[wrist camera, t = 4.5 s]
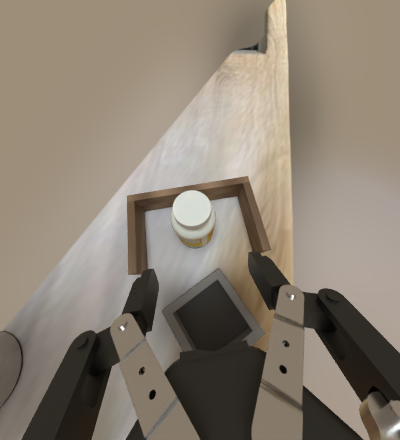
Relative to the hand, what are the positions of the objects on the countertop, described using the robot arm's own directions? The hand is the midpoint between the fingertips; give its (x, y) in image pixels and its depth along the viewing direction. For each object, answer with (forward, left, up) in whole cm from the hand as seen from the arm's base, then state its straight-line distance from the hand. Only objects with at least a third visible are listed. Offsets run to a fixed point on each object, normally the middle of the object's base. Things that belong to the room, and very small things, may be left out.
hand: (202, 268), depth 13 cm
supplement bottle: (+2, +5, -11) cm, 12 cm away
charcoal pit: (-3, -6, -10) cm, 12 cm away
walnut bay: (+2, +5, -10) cm, 12 cm away
